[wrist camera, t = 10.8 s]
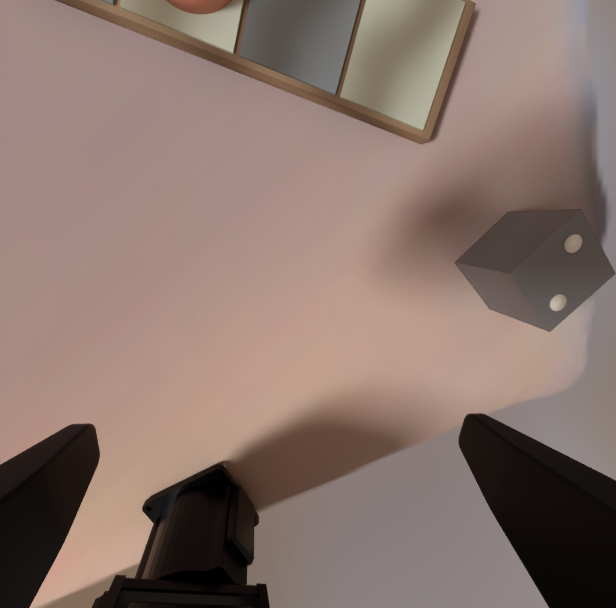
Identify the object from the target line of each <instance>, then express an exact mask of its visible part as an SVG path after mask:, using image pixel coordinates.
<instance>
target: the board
mask: <svg viewBox="0 0 616 608" xmlns="http://www.w3.org/2000/svg"><path fill="white" fill-rule="evenodd" d="M56 1H59V2H61V3H64V4H66V5H69V6H71V7H74V8H76V9H79V10H82V11H84V12H87V13H89V14H92V15H94V16H97V17H99V18H102V19H104V20H107V21H109V22H112V23H115V24H117V25H120V26H122V27H125V28H127V29H130V30H132V31H135V32H137V33H140V34H142V35H145V36H148V37H150V38H153V39H155V40H158V41H160V42H163V43H165V44H168V45H170V46H173V47H175V48H178V49H180V50H183V51H186V52H188V53H191V54H193V55H196V56H198V57H201V58H203V59H206V60H208V61H211V62H213V63H216V64H219V65H221V66H224V67H226V68H229V69H231V70H234V71H236V72H239V73H241V74H244V75H246V76H249V77H251V78H254V79H257V80H259V81H262V82H264V83H267V84H269V85H272V86H274V87H277V88H279V89H282V90H284V91H287V92H290V93H292V94H295V95H297V96H300V97H302V98H305V99H307V100H310V101H312V102H315V103H317V104H320V105H323V106H325V107H328V108H330V109H333V110H335V111H338V112H340V113H343V114H345V115H348V116H350V117H353V118H355V119H358V120H361V121H363V122H366V123H368V124H371V125H373V126H376V127H378V128H381V129H383V130H386V131H388V132H391V133H394V134H396V135H399V136H401V137H404V138H406V139H409V140H411V141H414V142H416V143H419V144H422V143H424V142H427V141H429V140H430V137H431V134H432V131H433V129H434V126H435V123H436V120H437V117H438V114H439V111H440V108H441V105H442V102H443V99H444V96H445V93H446V90H447V87H448V84H449V81H450V78H451V75H452V72H453V69H454V67H455V64H456V61H457V58H458V55H459V52H460V49H461V46H462V43H463V40H464V37H465V34H466V31H467V28H468V25H469V22H470V19H471V16H472V13H473V10H474V8H475V5H476V3H474V2H472V1H470V0H231V1H230V2H229V3H228V4H227V5H226V6H225V7H223V8H222V9H220V10H218V11H216V12H213V13H209V14H192V13H188V12H185V11H182V10H180V9H178V8H176V7H174V6H172V5H171V4H170V3H168V2H167V1H166V0H56Z"/></svg>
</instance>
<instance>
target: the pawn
mask: <svg viewBox="0 0 616 608" xmlns="http://www.w3.org/2000/svg"><path fill="white" fill-rule="evenodd" d="M166 1H167V2H168V3H170V4H171V5H172V6H174V7H176V8H178V9H180V10H182V11H185V12H188V13H192V14H209V13H213V12H216V11H218V10H220V9H222V8H223V7H225V6H226V5H227V4H228V3H229V2H230V1H231V0H166Z"/></svg>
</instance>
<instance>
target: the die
mask: <svg viewBox="0 0 616 608" xmlns="http://www.w3.org/2000/svg"><path fill="white" fill-rule="evenodd" d="M455 264H456V265H457V267H458V268H459V269H460V271H461V272H462V273H463V275H464V276H465V277H466V279H467V280H468V281H469V282H470V284H471V285H472V286H473V288H474V289H475V290H476V292H477V293H478V294H479V296H480V297H481V298H482V300H483V301H484V302H485V304H486V305H487V306H488V308H489V309H490V310H493V311H496V312H498V313H501V314H504V315H506V316H509V317H512V318H514V319H517V320H520V321H522V322H525V323H528V324H530V325H533V326H535V327H538V328H541V329H543V330H546V331H549V332H550V331H552V330H553V329H554V328H555V327H556V326H557V325H558V324H559V323H561V322H562V321H563V320H564V319H565V318H566V317H567V316H568V315H570V314H571V313H572V312H573V311H574V310H575V309H576V308H577V307H579V306H580V305H581V304H582V303H583V302H584V301H585V300H587V299H588V298H589V297H590V296H591V295H592V294H593V293H594V292H596V291H597V290H598V289H599V288H600V287H601V286H602V285H603V284H604V283H606V282H607V281H608V280H609V279H610V278H611V277H612V276H614V274H615V272H614V270H613V268H612V266H611V264H610V262H609V260H608V259H607V257H606V255H605V253H604V251H603V249H602V247H601V246H600V244H599V242H598V240H597V238H596V236H595V234H594V232H593V231H592V229H591V227H590V225H589V223H588V221H587V219H586V218H585V216H584V214H583V212H582V210H581V209H569V210H545V211H521V212H508V213H507V214H506V215H505V216H503V217H502V218H501V219H500V220H499V221H498V222H497V223H496V224H495V225H494V226H493V227H492V228H491V229H490V230H489V231H488V232H486V233H485V234H484V235H483V236H482V237H481V238H480V239H479V240H478V241H477V242H476V243H475V244H474V245H473V246H472V247H470V248H469V249H468V250H467V251H466V252H465V253H464V254H463V255H462V256H461V257H460V258H459V259H458V260H457V261H456V262H455Z"/></svg>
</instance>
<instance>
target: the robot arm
mask: <svg viewBox="0 0 616 608" xmlns="http://www.w3.org/2000/svg"><path fill="white" fill-rule="evenodd" d="M459 446H460V449H461V451H462V453H463V455H464V457H465V459H466V461H467V463H468V465H469V467H470V469H471V471H472V473H473V475H474V477H475V479H476V481H477V483H478V485H479V487H480V489H481V492H482V494H483V496H484V497H485V500H486V502H487V503H488V505H489V507H490V509H491V511H492V513H493V514H494V516H495V518H496V520H497V521H498V523H499V525H500V526H501V528H502V530H503V531H504V533H505V535H506V536H507V538H508V539H509V541H510V543H511V545H512V546H513V548H514V550H515V551H516V553H517V555H518V556H519V558H520V560H521V561H522V563H523V565H524V566H525V568H526V570H527V571H528V573H529V575H530V576H531V578H532V580H533V581H534V583H535V585H536V586H537V588H538V590H539V591H540V593H541V595H542V597H543V598H544V600H545V601H546V603H547V605H548V606H549V608H616V481H615V480H613V479H611V478H610V477H608V476H606V475H604V474H602V473H600V472H598V471H596V470H594V469H592V468H590V467H588V466H586V465H584V464H582V463H580V462H578V461H576V460H574V459H572V458H570V457H568V456H566V455H564V454H562V453H560V452H558V451H556V450H554V449H552V448H550V447H548V446H546V445H544V444H542V443H541V442H539V441H537V440H535V439H533V438H531V437H529V436H526V435H525V434H523V433H521V432H519V431H517V430H515V429H513V428H511V427H509V426H507V425H505V424H503V423H501V422H499V421H497V420H495V419H493V418H491V417H489V416H487V415H485V414H482V413H475V414H467V415H466V417H465V418H464V422H463V425H462V428H461V432H460V435H459ZM99 458H100V451H99V445H98V440H97V434H96V429H95V427H94V425H92V424H72V425H69V426H67V427H65V428H64V429H62V430H60V431H58V432H57V433H55V434H53V435H51V436H50V437H48V438H46V439H44V440H43V441H41V442H39V443H37V444H36V445H34V446H32V447H30V448H29V449H27V450H25V451H24V452H22V453H20V454H18V455H17V456H15V457H13V458H11V459H10V460H8V461H6V462H4V463H3V464H1V465H0V608H29V607H30V605H31V603H32V601H33V600H34V598H35V596H36V594H37V592H38V590H39V588H40V587H41V585H42V583H43V581H44V579H45V577H46V576H47V574H48V572H49V570H50V568H51V566H52V564H53V563H54V561H55V559H56V557H57V555H58V553H59V551H60V549H61V547H62V545H63V543H64V541H65V539H66V537H67V535H68V533H69V530H70V528H71V526H72V523H73V521H74V519H75V516H76V514H77V512H78V510H79V507H80V505H81V503H82V500H83V498H84V496H85V493H86V491H87V489H88V486H89V484H90V482H91V479H92V477H93V475H94V472H95V470H96V468H97V465H98V462H99ZM216 472H220V473H216ZM254 509H255V507H254V505H253V503H252V502H251V501H250V499H249V498H248V496H247V495H246V493H245V492H244V491H243V489H242V488H241V486H239V485H238V484H236V483H235V481H234V480H233V478H232V477H231V476H230V474H229V473H228V471H227V470H226V468H225V467H224V466H222V465H216V466H214V467H212V468H210V469H208V470H206V471H204V472H202V473H200V474H198V475H196V476H194V477H192V478H190V479H188V480H186V481H184V482H182V483H180V484H177V485H175V486H173V487H171V488H169V489H167V490H165V491H163V492H161V493H159V494H157V495H155V496H153V497H151V498H149V499H147V500H146V501H145V503H144V505H143V507H142V510H143V512H144V513H145V514H146V515H147V516H148V517H149V519H150V520H151V521H152V522H153V523H154V524H153V527H152V530H151V533H150V536H149V539H148V542H147V544H146V547H145V550H144V553H143V556H142V559H141V562H140V565H139V567H138V570H137V573H136V576H135V578H127V577H126V575H116V576H115V578H114V580H113V582H112V585H111V587H110V589H109V591H105V592H104V594H103V595H102V596H101V597H99V598H97V599H96V600H95V602H94V604H93V606H92V608H270V607H269V600H268V594H267V587H266V584H259V583H257V585H247V566H249V565H251V564H252V562H253V559H254V527H255V526H256V525H258V523H259V516H258V514H257V512H256V511H255V510H254Z"/></svg>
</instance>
